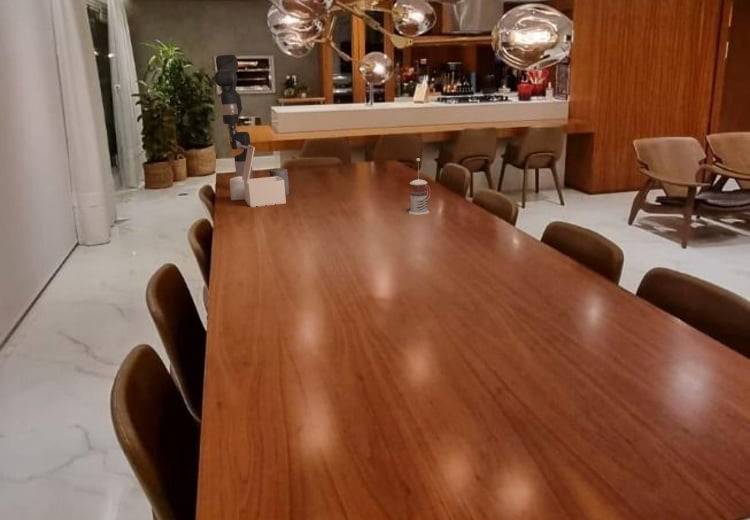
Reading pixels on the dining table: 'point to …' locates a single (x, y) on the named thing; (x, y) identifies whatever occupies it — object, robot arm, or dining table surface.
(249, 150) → the carton lid
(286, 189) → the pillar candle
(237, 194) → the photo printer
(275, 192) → the carton
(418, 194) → the french press
